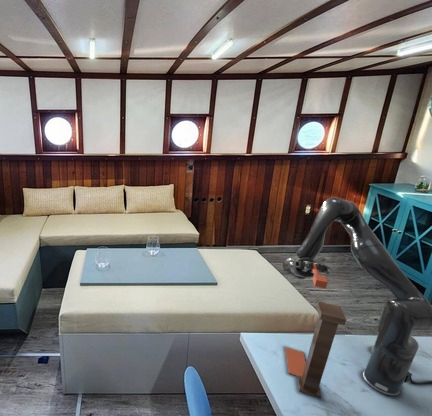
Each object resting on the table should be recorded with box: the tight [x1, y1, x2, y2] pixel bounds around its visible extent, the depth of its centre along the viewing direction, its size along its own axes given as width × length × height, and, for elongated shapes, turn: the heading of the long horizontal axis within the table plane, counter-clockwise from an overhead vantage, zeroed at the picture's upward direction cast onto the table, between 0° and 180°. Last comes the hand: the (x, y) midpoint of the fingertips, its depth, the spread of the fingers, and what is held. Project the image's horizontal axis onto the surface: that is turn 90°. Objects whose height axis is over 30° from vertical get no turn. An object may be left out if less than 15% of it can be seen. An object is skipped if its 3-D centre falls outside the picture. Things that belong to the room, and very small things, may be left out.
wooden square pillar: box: [296, 301, 347, 399], centre depth 92 cm, size 6×6×32 cm
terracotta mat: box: [285, 347, 306, 377], centre depth 106 cm, size 13×6×1 cm, turn 154°
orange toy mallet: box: [312, 262, 329, 289], centre depth 97 cm, size 15×3×2 cm, turn 155°
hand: (315, 266), depth 99 cm, fingers closed on orange toy mallet, 1 cm apart
